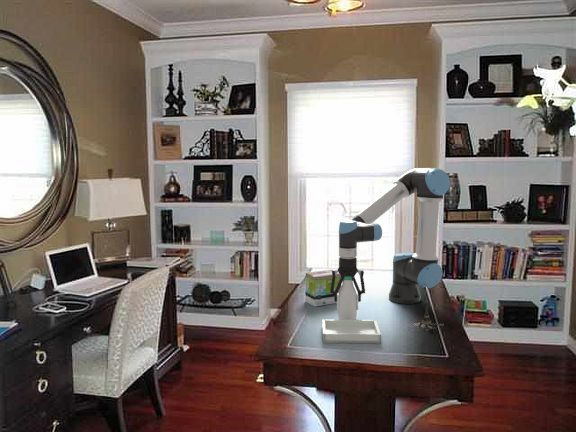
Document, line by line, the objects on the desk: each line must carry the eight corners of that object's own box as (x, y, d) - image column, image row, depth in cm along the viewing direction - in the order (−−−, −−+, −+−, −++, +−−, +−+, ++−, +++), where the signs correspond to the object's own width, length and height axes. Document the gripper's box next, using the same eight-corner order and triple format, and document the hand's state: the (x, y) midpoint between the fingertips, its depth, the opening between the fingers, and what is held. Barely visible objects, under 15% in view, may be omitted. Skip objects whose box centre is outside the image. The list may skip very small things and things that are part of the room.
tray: (375, 328, 197) (375, 319, 196) (381, 343, 181) (381, 334, 181) (322, 327, 198) (322, 319, 198) (323, 342, 182) (323, 334, 182)
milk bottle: (355, 323, 202) (356, 278, 199) (337, 322, 203) (337, 277, 201) (356, 317, 209) (357, 273, 207) (339, 316, 211) (339, 272, 208)
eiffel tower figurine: (443, 325, 201) (444, 294, 199) (447, 334, 191) (448, 301, 189) (407, 323, 204) (408, 292, 202) (408, 331, 194) (409, 300, 192)
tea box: (315, 307, 224) (315, 277, 222) (304, 301, 233) (304, 272, 231) (341, 302, 231) (342, 272, 229) (330, 297, 240) (330, 268, 238)
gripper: (323, 258, 200) (324, 311, 203) (373, 258, 198) (372, 311, 201) (323, 255, 207) (323, 305, 210) (370, 255, 206) (370, 306, 209)
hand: (347, 308), depth 206 cm, fingers closed on milk bottle, 7 cm apart
